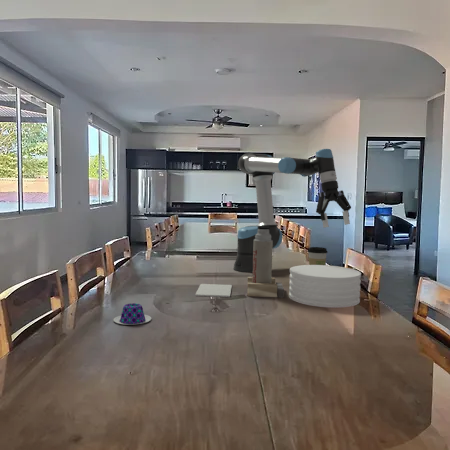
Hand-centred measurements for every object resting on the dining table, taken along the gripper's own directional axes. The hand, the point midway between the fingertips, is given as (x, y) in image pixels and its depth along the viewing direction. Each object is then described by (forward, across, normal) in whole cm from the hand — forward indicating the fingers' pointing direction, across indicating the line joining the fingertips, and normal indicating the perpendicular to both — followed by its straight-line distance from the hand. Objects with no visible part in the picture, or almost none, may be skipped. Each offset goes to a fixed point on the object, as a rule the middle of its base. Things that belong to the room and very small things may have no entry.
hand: (336, 225), depth 200 cm
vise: (+24, -44, +4) cm, 50 cm away
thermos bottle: (+24, -45, +5) cm, 51 cm away
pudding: (+22, -105, -10) cm, 108 cm away
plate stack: (+29, -27, -13) cm, 42 cm away
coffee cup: (+24, 0, +20) cm, 31 cm away
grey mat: (+20, -61, +15) cm, 66 cm away
